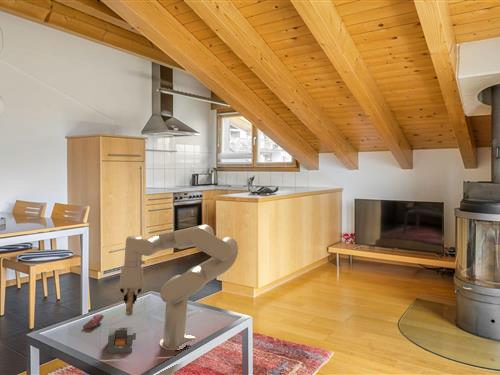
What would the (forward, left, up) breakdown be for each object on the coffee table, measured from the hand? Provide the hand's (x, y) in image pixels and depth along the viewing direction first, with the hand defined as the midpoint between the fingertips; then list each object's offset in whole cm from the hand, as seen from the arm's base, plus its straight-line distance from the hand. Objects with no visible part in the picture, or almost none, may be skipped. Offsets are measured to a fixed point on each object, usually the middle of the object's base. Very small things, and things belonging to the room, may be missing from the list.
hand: (129, 302), depth 179 cm
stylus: (0, 0, -6) cm, 6 cm away
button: (+3, +10, -16) cm, 19 cm away
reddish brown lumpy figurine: (+16, -14, -17) cm, 27 cm away
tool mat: (0, 0, -17) cm, 17 cm away
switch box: (+3, +10, -17) cm, 20 cm away
